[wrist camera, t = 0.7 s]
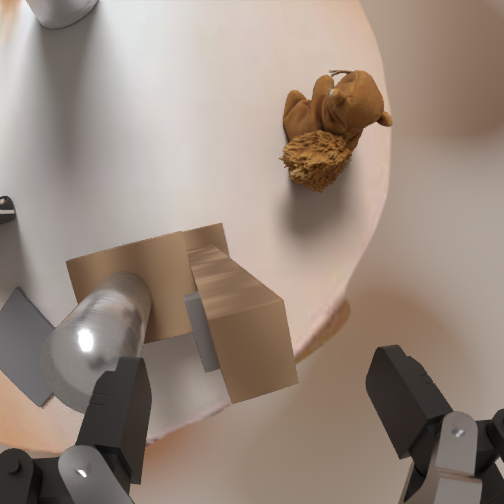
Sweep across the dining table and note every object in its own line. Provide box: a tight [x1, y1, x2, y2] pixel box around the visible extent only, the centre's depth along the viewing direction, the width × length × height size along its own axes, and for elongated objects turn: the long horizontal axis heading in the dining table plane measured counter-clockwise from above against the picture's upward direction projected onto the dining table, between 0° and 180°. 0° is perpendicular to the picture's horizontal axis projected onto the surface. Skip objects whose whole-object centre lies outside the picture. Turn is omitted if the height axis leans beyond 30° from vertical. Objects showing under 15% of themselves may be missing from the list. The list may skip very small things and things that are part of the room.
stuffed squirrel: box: [279, 70, 393, 192], centre depth 30 cm, size 10×14×13 cm
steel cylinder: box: [40, 271, 152, 414], centre depth 19 cm, size 5×5×14 cm
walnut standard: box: [66, 223, 298, 404], centre depth 23 cm, size 16×9×24 cm, turn 102°
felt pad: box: [0, 287, 55, 407], centre depth 31 cm, size 12×12×1 cm
